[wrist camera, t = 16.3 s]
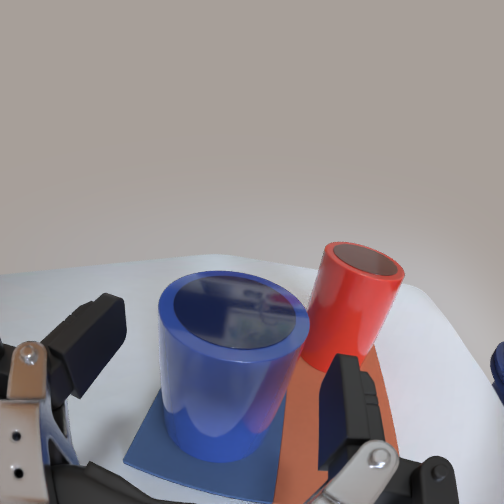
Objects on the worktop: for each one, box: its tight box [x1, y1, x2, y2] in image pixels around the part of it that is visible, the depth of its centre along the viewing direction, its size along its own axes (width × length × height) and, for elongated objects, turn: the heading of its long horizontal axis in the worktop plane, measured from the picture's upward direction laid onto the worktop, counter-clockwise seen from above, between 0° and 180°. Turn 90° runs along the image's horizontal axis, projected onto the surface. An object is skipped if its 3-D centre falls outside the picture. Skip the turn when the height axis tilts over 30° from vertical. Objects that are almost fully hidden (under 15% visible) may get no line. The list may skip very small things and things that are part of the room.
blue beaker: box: [158, 271, 310, 463], centre depth 13 cm, size 6×6×9 cm
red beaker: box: [300, 242, 405, 373], centre depth 21 cm, size 6×6×8 cm
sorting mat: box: [123, 344, 399, 504], centre depth 19 cm, size 16×19×1 cm
